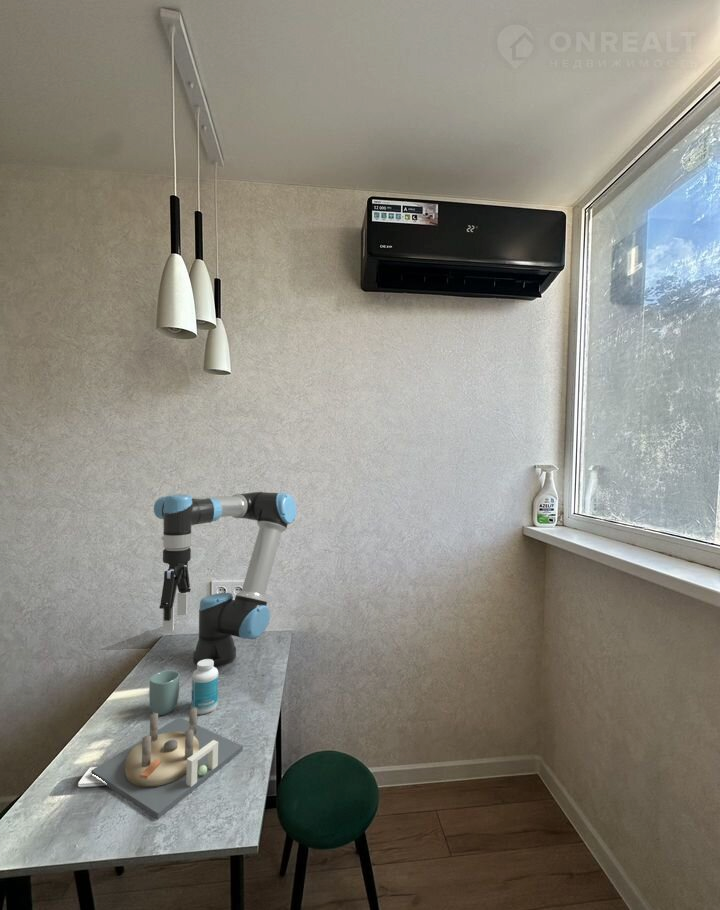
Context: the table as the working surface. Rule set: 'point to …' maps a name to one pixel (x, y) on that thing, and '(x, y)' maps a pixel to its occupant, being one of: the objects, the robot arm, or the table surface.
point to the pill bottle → (205, 687)
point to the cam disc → (162, 754)
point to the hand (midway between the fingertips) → (175, 622)
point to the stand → (166, 796)
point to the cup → (164, 691)
